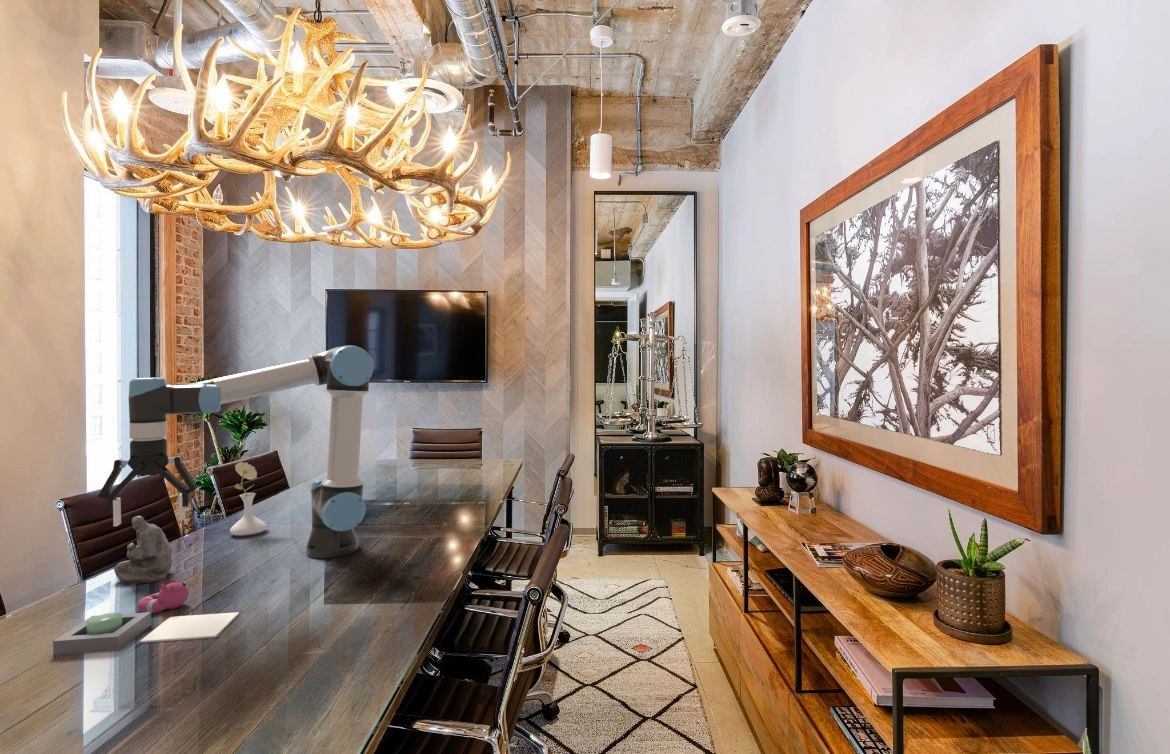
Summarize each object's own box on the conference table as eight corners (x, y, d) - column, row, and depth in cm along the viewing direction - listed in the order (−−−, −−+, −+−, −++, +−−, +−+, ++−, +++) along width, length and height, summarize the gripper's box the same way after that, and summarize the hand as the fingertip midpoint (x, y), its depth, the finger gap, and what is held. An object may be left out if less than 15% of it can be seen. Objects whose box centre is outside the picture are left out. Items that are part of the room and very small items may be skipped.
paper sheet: (239, 613, 140) (239, 612, 140) (215, 637, 128) (215, 635, 128) (170, 618, 138) (170, 616, 138) (139, 642, 126) (139, 641, 126)
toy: (203, 598, 150) (189, 574, 144) (177, 630, 143) (161, 606, 137) (164, 590, 152) (148, 566, 146) (137, 621, 145) (119, 598, 139)
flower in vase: (273, 531, 207) (272, 461, 206) (240, 540, 197) (238, 466, 196) (253, 526, 214) (252, 458, 213) (220, 534, 204) (218, 463, 203)
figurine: (107, 581, 161) (104, 516, 161) (151, 567, 172) (150, 506, 172) (138, 588, 156) (136, 521, 156) (182, 573, 167) (180, 510, 167)
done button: (128, 624, 131) (128, 611, 131) (111, 637, 125) (110, 623, 125) (98, 626, 130) (98, 613, 130) (79, 639, 124) (79, 625, 124)
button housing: (151, 624, 134) (150, 612, 134) (118, 650, 123) (117, 636, 122) (92, 629, 133) (92, 615, 132) (53, 655, 121) (52, 641, 121)
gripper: (209, 434, 156) (210, 513, 157) (93, 439, 147) (95, 523, 148) (202, 438, 150) (204, 520, 150) (80, 443, 140) (82, 531, 141)
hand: (150, 522), depth 149 cm, fingers open, 13 cm apart
